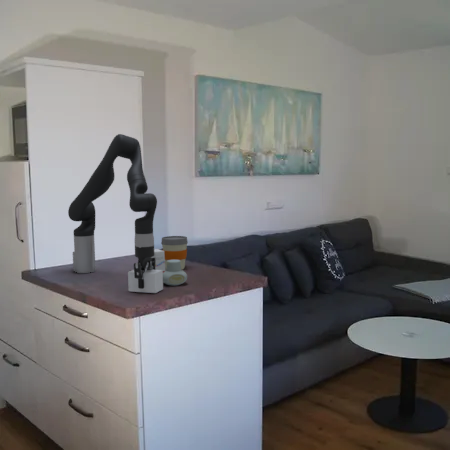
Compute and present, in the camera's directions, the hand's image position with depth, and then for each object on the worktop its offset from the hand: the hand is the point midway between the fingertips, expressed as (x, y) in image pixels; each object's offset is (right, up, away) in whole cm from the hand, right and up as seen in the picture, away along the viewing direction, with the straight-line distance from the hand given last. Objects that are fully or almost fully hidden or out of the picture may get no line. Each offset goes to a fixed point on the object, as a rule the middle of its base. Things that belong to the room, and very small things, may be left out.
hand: (145, 286), depth 200 cm
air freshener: (+10, -1, +12) cm, 15 cm away
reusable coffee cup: (+7, +3, +44) cm, 45 cm away
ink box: (+1, +1, +27) cm, 27 cm away
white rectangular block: (0, -2, 0) cm, 2 cm away
